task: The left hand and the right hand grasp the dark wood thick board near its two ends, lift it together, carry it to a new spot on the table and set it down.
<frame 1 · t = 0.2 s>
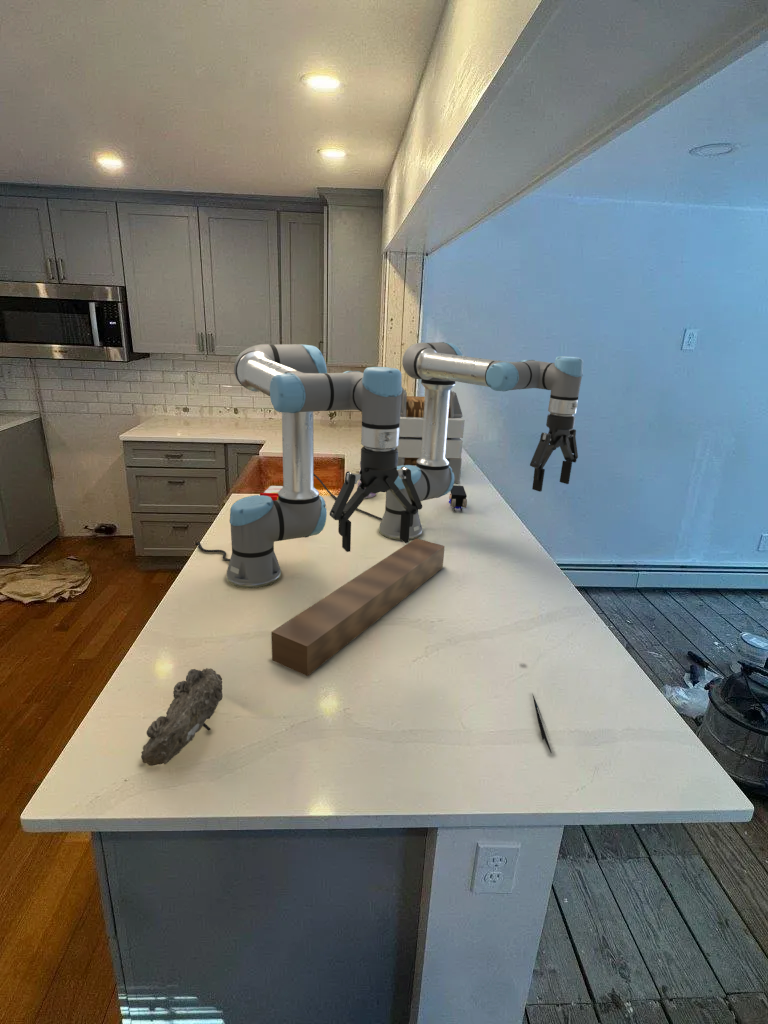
left hand: (375, 545, 120), 27 cm above the counter, tool pointing down, fingers open, 13 cm apart
right hand: (550, 486, 166), 28 cm above the counter, tool pointing down, fingers open, 13 cm apart
thick board: (371, 606, 151), on the counter
figurine character: (456, 507, 229), on the counter
toy: (279, 518, 209), on the counter
feather: (534, 706, 115), on the counter
figurine: (366, 495, 239), on the counter
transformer: (419, 473, 275), on the counter
fossil: (190, 728, 105), on the counter
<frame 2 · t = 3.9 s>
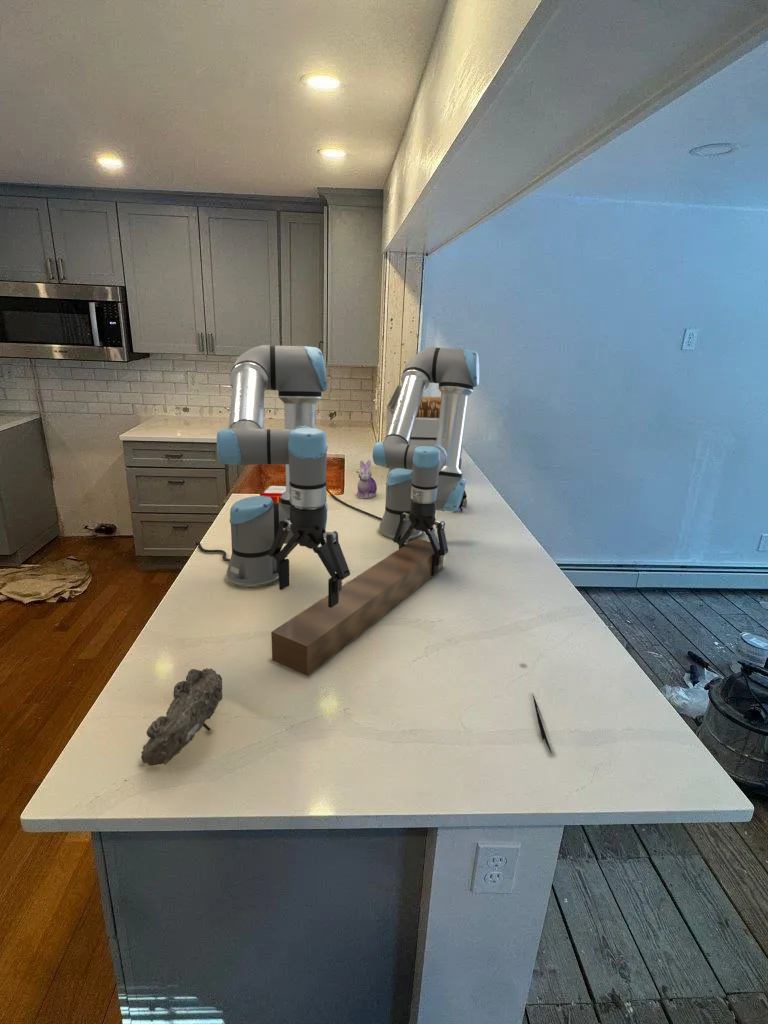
left hand: (308, 596, 124), 15 cm above the counter, tool pointing down, fingers open, 13 cm apart
right hand: (418, 569, 172), 1 cm above the counter, tool pointing down, fingers closed on thick board, 10 cm apart
thick board: (371, 606, 151), on the counter, touching right hand
everything else where it was.
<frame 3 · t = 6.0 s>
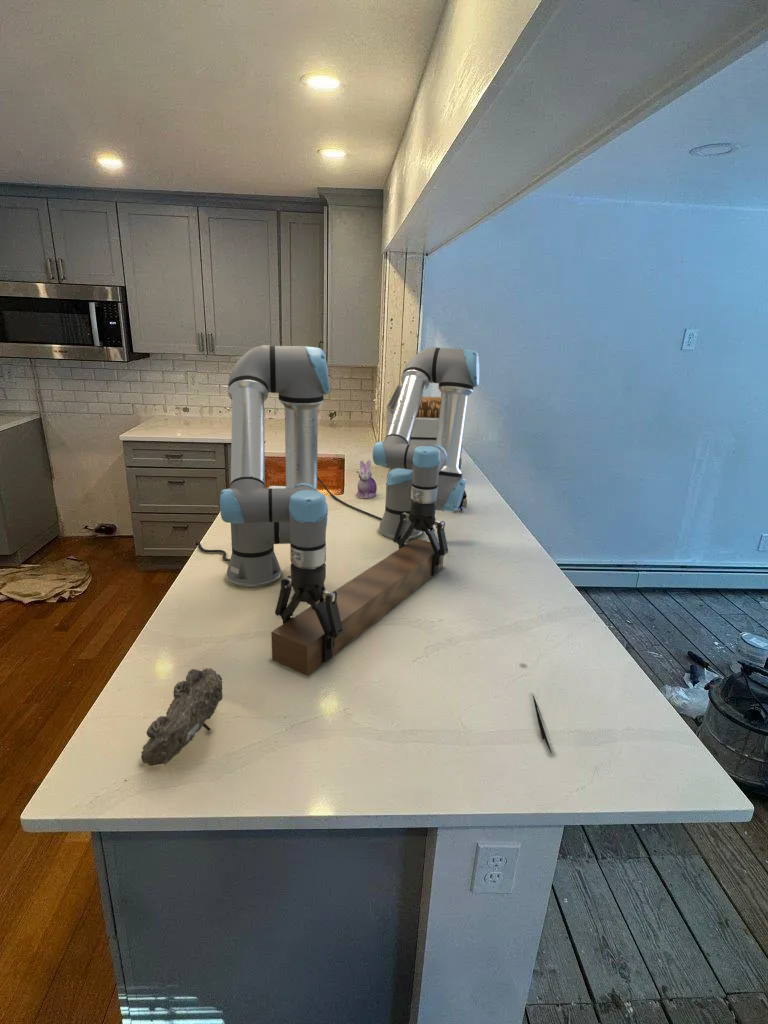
left hand: (308, 651, 129), 1 cm above the counter, tool pointing down, fingers closed on thick board, 10 cm apart
right hand: (418, 569, 172), 1 cm above the counter, tool pointing down, fingers closed on thick board, 10 cm apart
thick board: (371, 606, 151), on the counter, touching right hand, left hand
everything else where it was.
when the left hand's fingers open (1 cm above the counter, at t = 10.2 s): thick board stays where it is, on the counter.
when the right hand's fingers open (1 cm above the counter, at t = 10.2 s): thick board stays where it is, on the counter.
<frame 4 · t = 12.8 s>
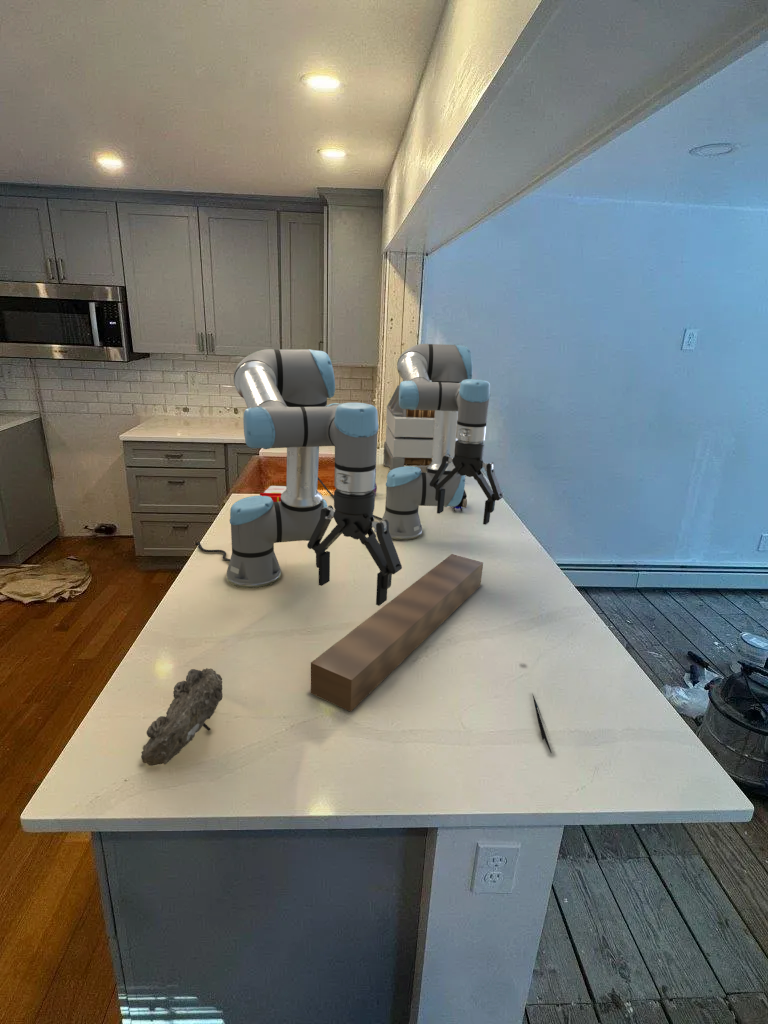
left hand: (351, 592, 111), 22 cm above the counter, tool pointing down, fingers open, 13 cm apart
right hand: (462, 517, 154), 22 cm above the counter, tool pointing down, fingers open, 13 cm apart
thick board: (410, 630, 140), on the counter
everything else where it was.
at the end: thick board inside the target area (0.2 cm from its centre), on the counter; thick board tilted 0°; thick board never tilted more than 1° during the clip; both hands held the thick board at the same time; the left hand is holding nothing; the right hand is holding nothing; thick board at rest at the end (0.0 cm/s) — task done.
